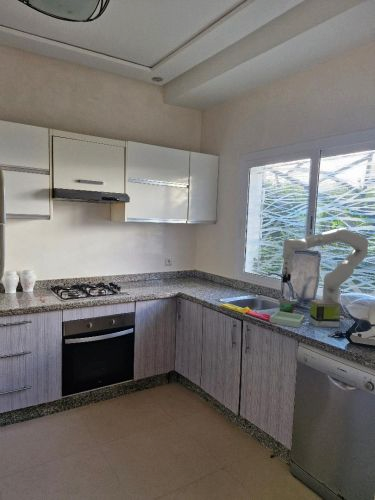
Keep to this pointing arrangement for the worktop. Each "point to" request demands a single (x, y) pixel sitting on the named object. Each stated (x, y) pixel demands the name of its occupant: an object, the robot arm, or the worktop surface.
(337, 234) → the robot arm
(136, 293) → the worktop surface
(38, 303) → the worktop surface
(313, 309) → the tea box
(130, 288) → the worktop surface
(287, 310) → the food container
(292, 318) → the sorting tray
